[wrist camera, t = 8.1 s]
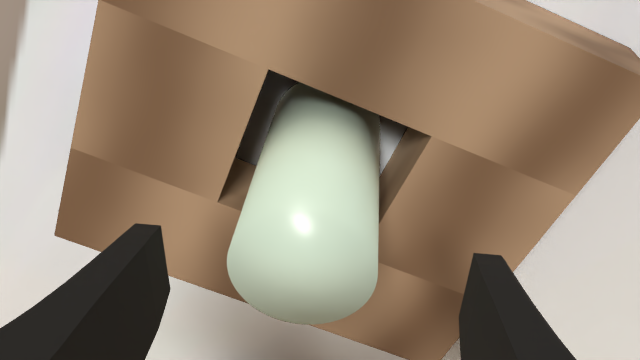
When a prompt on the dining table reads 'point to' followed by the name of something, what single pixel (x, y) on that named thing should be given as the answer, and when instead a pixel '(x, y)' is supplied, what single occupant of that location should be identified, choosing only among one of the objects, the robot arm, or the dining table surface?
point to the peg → (311, 212)
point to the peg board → (364, 91)
